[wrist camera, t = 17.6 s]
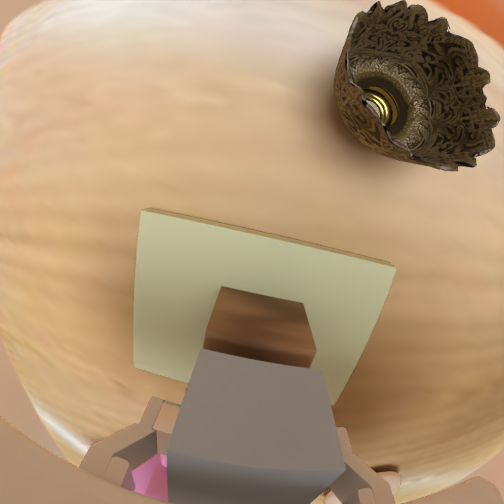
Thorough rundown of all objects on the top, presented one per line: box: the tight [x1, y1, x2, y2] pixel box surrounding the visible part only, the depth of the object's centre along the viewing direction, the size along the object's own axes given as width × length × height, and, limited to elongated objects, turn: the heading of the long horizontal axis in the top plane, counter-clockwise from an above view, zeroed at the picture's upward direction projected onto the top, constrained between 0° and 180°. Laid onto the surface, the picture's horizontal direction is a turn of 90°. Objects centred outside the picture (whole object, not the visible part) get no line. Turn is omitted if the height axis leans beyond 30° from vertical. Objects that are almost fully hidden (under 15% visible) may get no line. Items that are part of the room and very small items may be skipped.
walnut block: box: [203, 286, 317, 368], centre depth 15 cm, size 5×5×5 cm
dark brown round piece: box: [334, 0, 500, 171], centre depth 10 cm, size 8×7×8 cm
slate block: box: [166, 348, 346, 504], centre depth 9 cm, size 5×5×5 cm
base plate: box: [133, 208, 397, 406], centre depth 18 cm, size 16×12×1 cm
